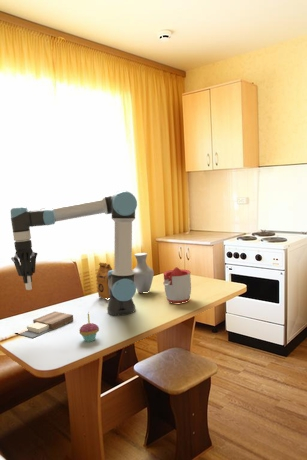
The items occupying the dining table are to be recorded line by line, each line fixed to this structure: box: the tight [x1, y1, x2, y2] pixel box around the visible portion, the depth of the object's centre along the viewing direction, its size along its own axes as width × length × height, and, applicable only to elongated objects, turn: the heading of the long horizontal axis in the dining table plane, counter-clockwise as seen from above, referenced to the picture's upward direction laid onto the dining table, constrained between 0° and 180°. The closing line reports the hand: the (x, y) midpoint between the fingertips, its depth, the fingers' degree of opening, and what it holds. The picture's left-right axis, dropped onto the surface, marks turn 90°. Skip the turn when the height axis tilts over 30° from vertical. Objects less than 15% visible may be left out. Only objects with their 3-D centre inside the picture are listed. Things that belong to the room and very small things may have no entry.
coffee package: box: [96, 262, 113, 299], centre depth 222 cm, size 10×12×22 cm
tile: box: [26, 322, 49, 333], centre depth 176 cm, size 9×6×2 cm, turn 55°
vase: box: [132, 252, 155, 293], centre depth 228 cm, size 14×14×25 cm
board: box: [32, 311, 74, 331], centre depth 185 cm, size 14×14×3 cm
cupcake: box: [79, 311, 100, 343], centre depth 160 cm, size 9×8×12 cm
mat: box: [20, 329, 52, 339], centre depth 175 cm, size 14×11×1 cm
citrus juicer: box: [162, 266, 192, 304], centre depth 205 cm, size 16×17×20 cm
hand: (28, 289), depth 171 cm, fingers closed
